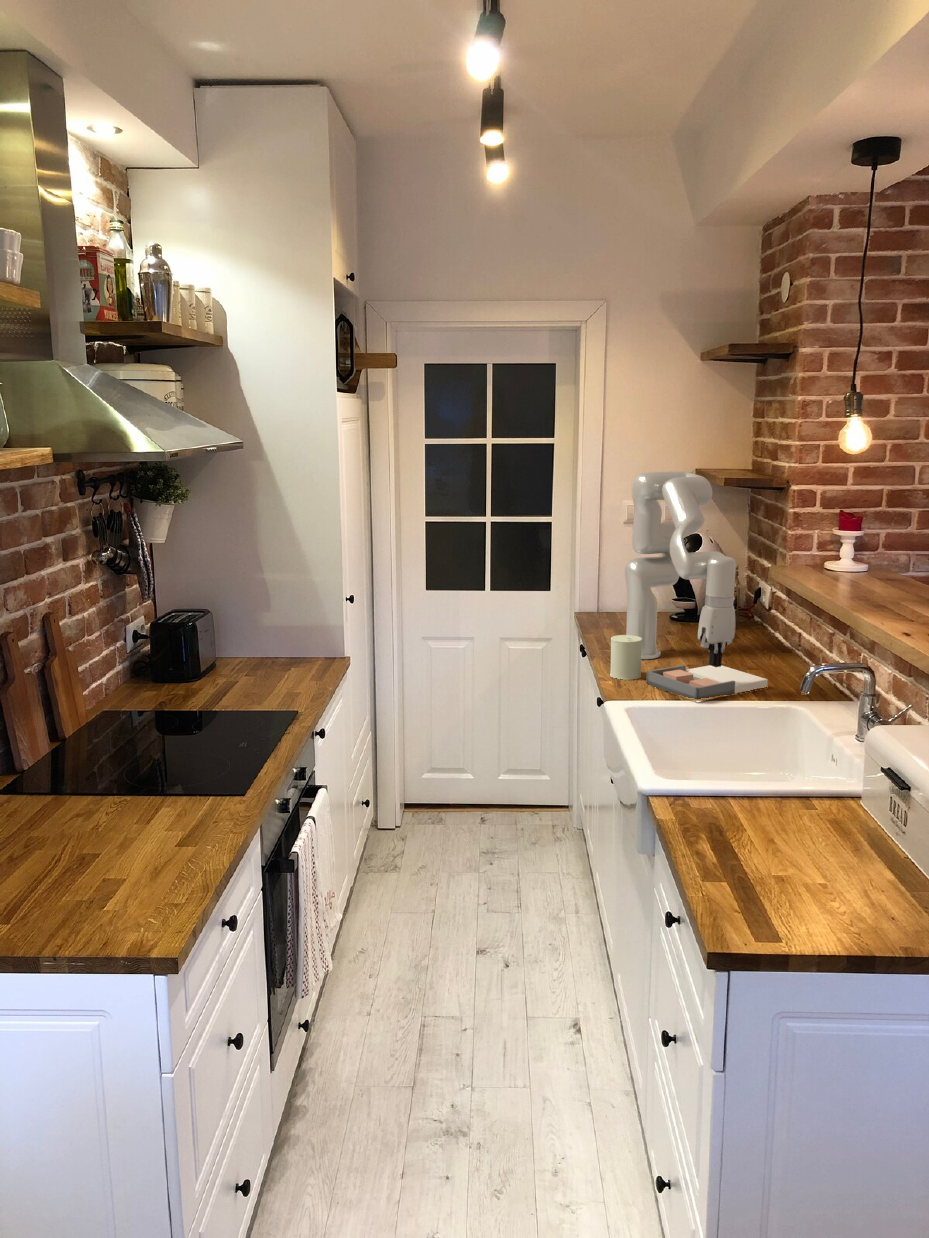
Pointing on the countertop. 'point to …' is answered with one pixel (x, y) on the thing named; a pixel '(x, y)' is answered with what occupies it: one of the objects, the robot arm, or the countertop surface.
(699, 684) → the tile
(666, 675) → the tile
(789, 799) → the countertop surface
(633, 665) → the can
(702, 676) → the plate
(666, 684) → the tray
